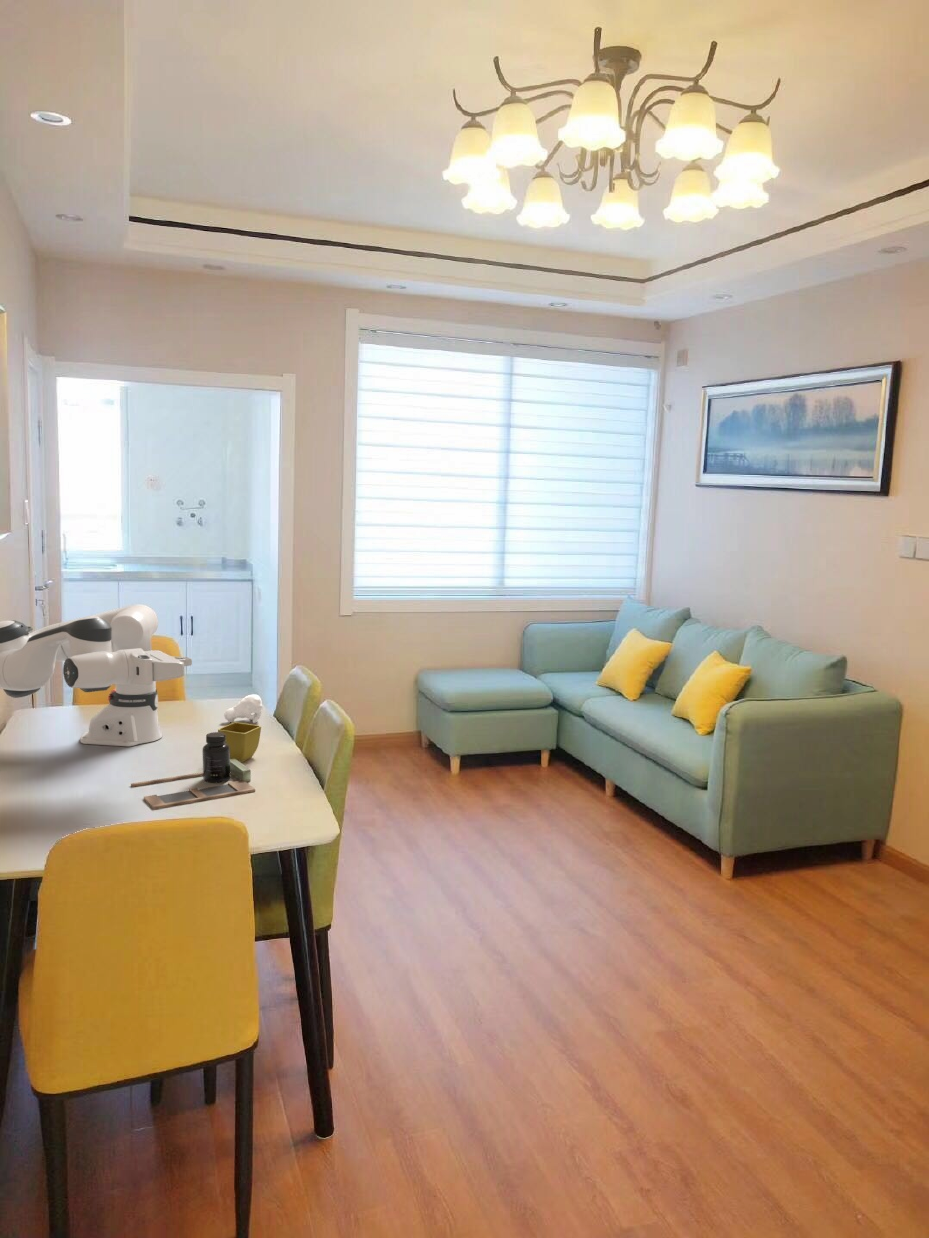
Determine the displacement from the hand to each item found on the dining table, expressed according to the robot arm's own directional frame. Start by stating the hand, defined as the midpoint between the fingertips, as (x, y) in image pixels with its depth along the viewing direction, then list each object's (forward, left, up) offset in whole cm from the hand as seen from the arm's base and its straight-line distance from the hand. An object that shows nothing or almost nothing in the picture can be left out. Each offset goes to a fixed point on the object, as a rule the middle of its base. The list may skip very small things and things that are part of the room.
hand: (189, 661), depth 236 cm
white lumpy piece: (+6, +51, -30) cm, 60 cm away
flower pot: (+11, +12, -30) cm, 34 cm away
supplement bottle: (+7, -5, -30) cm, 32 cm away
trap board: (+4, -13, -30) cm, 33 cm away
